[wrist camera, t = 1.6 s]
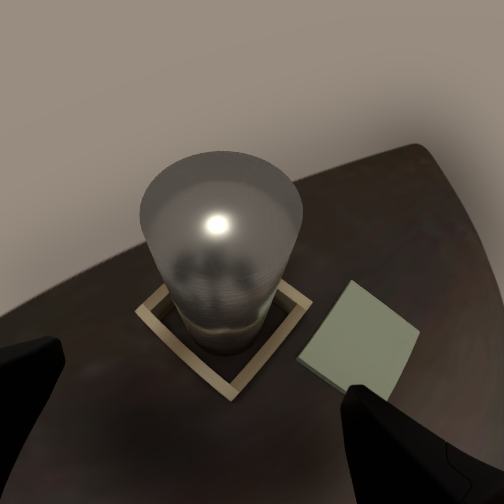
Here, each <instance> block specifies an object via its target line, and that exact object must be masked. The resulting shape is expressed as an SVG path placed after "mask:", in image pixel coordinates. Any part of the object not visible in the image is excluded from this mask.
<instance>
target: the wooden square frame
mask: <svg viewBox="0 0 504 504" xmlns="http://www.w3.org/2000/svg"><path fill="white" fill-rule="evenodd" d="M272 302H273V303H275V304H276V305H277V306H279V307H280V308H281V309H283V310H284V311H285V312H287V313H288V314H289V315H288V316H287V318H286V319H285V320H284V321H283V323H282V324H281V325H280V326H279V328H278V329H277V330H276V331H275V332H274V334H273V335H272V336H271V337H270V338H269V340H268V341H267V342H266V343H265V344H264V346H263V347H262V348H261V349H260V350H259V351H258V353H257V354H256V355H255V356H254V357H253V358H252V360H251V361H250V362H249V363H248V364H247V365H246V366H245V368H244V369H243V370H242V371H241V372H240V373H239V374H238V376H237V377H236V378H235V379H234V380H233V381H232V382H231V383H230V384H229V383H227V382H226V381H225V380H224V379H222V378H221V377H220V376H219V375H218V374H216V373H215V372H214V371H213V370H212V369H211V368H209V367H208V366H207V365H206V364H205V363H204V362H203V361H201V360H200V359H199V358H198V357H197V356H196V355H195V354H194V353H192V352H191V351H190V350H189V349H188V348H187V347H186V346H185V345H184V344H183V343H182V342H181V341H179V340H178V339H177V338H176V337H175V336H174V335H173V334H172V333H171V332H170V331H169V330H168V329H167V328H166V327H165V326H164V325H163V324H162V323H161V322H160V320H161V319H162V318H163V317H164V316H165V315H166V314H167V313H168V312H169V311H170V310H171V309H172V308H173V307H174V306H175V304H174V302H173V300H172V297H171V295H170V293H169V291H168V289H167V287H166V285H165V283H164V284H163V285H162V286H161V287H160V288H159V289H158V290H157V291H155V292H154V293H153V294H152V295H151V296H150V297H149V298H148V299H147V300H146V301H145V302H144V303H143V304H142V305H141V306H140V307H139V308H138V309H137V310H136V311H135V312H136V313H137V314H138V316H139V317H140V318H141V319H142V320H143V321H144V322H145V323H146V324H147V325H148V326H149V327H150V329H151V330H152V331H153V332H154V333H155V334H156V335H157V336H158V337H159V338H160V339H161V340H162V341H163V342H164V343H165V344H166V345H167V346H168V347H169V348H170V349H171V350H172V351H174V352H175V353H176V354H177V355H178V356H179V357H180V358H181V359H182V360H183V361H184V362H185V363H186V364H187V365H188V366H190V367H191V368H192V369H193V370H194V371H195V372H196V373H197V374H198V375H200V376H201V377H202V378H203V379H204V380H205V381H207V382H208V383H209V384H210V385H211V386H212V387H214V388H215V389H216V390H217V391H218V392H220V393H221V394H222V395H223V396H224V397H226V398H227V399H228V400H229V401H232V400H233V399H234V398H235V397H236V396H237V395H238V394H239V392H240V391H241V390H242V389H243V388H244V387H245V386H246V385H247V383H248V382H249V381H250V380H251V379H252V378H253V376H254V375H255V374H256V373H257V372H258V371H259V369H260V368H261V367H262V366H263V365H264V364H265V362H266V361H267V360H268V359H269V358H270V356H271V355H272V354H273V353H274V351H275V350H276V349H277V348H278V347H279V345H280V344H281V343H282V342H283V340H284V339H285V338H286V337H287V335H288V334H289V333H290V332H291V330H292V329H293V328H294V326H295V325H296V324H297V323H298V321H299V320H300V319H301V317H302V316H303V315H304V313H305V312H306V311H307V309H308V308H309V307H310V305H311V304H312V303H313V302H312V301H310V300H309V299H308V298H306V297H305V296H304V295H302V294H301V293H300V292H298V291H297V290H296V289H294V288H293V287H292V286H290V285H289V284H287V283H286V282H285V281H283V280H282V279H281V280H280V283H279V285H278V288H277V290H276V293H275V295H274V298H273V300H272Z"/></svg>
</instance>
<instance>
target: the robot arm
mask: <svg viewBox="0 0 504 504" xmlns="http://www.w3.org/2000/svg"><path fill="white" fill-rule="evenodd" d="M64 366H65V356H64V352H63V348H62V344H61V341H60V340H59V339H58V338H56V337H53V336H50V335H48V336H44V337H41V338H37V339H33V340H30V341H26V342H22V343H18V344H15V345H11V346H7V347H3V348H0V498H1V495H2V493H3V490H4V488H5V484H6V482H7V480H8V478H9V475H10V473H11V471H12V468H13V466H14V464H15V462H16V460H17V458H18V455H19V453H20V451H21V449H22V447H23V445H24V443H25V441H26V439H27V437H28V435H29V434H30V432H31V430H32V428H33V426H34V424H35V422H36V421H37V419H38V417H39V415H40V413H41V412H42V410H43V408H44V406H45V405H46V403H47V401H48V399H49V397H50V395H51V393H52V391H53V389H54V387H55V384H56V382H57V380H58V378H59V376H60V374H61V372H62V370H63V368H64ZM340 412H341V420H342V428H343V436H344V445H345V452H346V457H347V461H348V465H349V470H350V474H351V478H352V483H353V487H354V492H355V497H356V501H357V504H504V471H502V470H500V469H497V468H495V467H493V466H491V465H488V464H486V463H484V462H482V461H480V460H478V459H476V458H474V457H472V456H470V455H468V454H466V453H464V452H463V451H461V450H459V449H458V448H456V447H454V446H453V445H451V444H450V443H448V442H445V440H443V439H442V438H440V437H439V436H437V435H436V434H434V433H433V432H431V431H430V430H428V429H427V428H425V427H424V426H422V425H421V424H419V423H418V422H416V421H415V420H413V419H412V418H410V417H409V416H407V415H406V414H404V413H403V412H401V411H400V410H399V409H397V408H396V407H394V406H393V405H391V404H390V403H389V402H387V401H386V400H384V399H383V398H382V397H380V396H379V395H377V394H376V393H375V392H373V391H372V390H370V389H369V388H368V387H366V386H365V385H363V384H356V385H350V386H349V387H348V389H347V392H346V394H345V396H344V399H343V401H342V403H341V408H340Z"/></svg>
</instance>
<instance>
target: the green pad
mask: <svg viewBox="0 0 504 504" xmlns="http://www.w3.org/2000/svg"><path fill="white" fill-rule="evenodd" d="M419 333H420V332H419V331H418V330H417V329H416V328H414V327H413V326H412V325H410V324H409V323H408V322H407V321H405V320H404V319H403V318H401V317H400V316H399V315H398V314H396V313H395V312H394V311H392V310H391V309H390V308H388V307H387V306H386V305H384V304H383V303H382V302H380V301H379V300H378V299H376V298H375V297H374V296H372V295H371V294H370V293H368V292H367V291H366V290H364V289H363V288H362V287H360V286H359V285H358V284H356V283H355V282H354V281H352V280H351V281H350V282H349V284H348V285H347V286H346V288H345V289H344V291H343V292H342V294H341V295H340V297H339V299H338V300H337V302H336V303H335V305H334V306H333V308H332V309H331V310H330V312H329V313H328V315H327V316H326V318H325V319H324V321H323V322H322V323H321V325H320V326H319V328H318V329H317V331H316V332H315V333H314V335H313V336H312V337H311V339H310V340H309V342H308V343H307V344H306V346H305V347H304V348H303V350H302V351H301V352H300V354H299V355H298V356H297V358H296V359H295V360H297V361H298V362H299V363H301V364H302V365H303V366H305V367H306V368H307V369H309V370H310V371H312V372H313V373H314V374H316V375H317V376H319V377H320V378H321V379H323V380H324V381H326V382H327V383H329V384H330V385H331V386H333V387H334V388H336V389H337V390H339V391H340V392H341V393H343V394H344V395H345V394H346V392H347V389H348V387H349V386H350V385H356V384H363V385H365V386H366V387H368V388H369V389H370V390H372V391H373V392H375V393H376V394H377V395H379V396H380V397H382V398H383V399H384V400H386V401H387V400H388V398H389V396H390V394H391V392H392V391H393V389H394V387H395V385H396V383H397V381H398V379H399V377H400V375H401V373H402V371H403V369H404V367H405V365H406V363H407V361H408V358H409V356H410V354H411V352H412V349H413V347H414V345H415V343H416V340H417V338H418V335H419Z"/></svg>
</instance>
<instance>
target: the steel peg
mask: <svg viewBox="0 0 504 504" xmlns="http://www.w3.org/2000/svg"><path fill="white" fill-rule="evenodd" d="M302 217H303V207H302V202H301V198H300V196H299V193H298V191H297V189H296V187H295V186H294V184H293V183H292V181H291V180H290V179H289V178H288V177H287V176H286V175H285V174H284V173H283V172H282V171H281V170H279V169H278V168H277V167H275V166H274V165H272V164H271V163H268V162H267V161H265V160H263V159H260V158H257V157H255V156H252V155H248V154H244V153H239V152H230V151H215V152H206V153H200V154H196V155H192V156H190V157H187V158H184V159H182V160H180V161H177V162H175V163H174V164H172V165H170V166H169V167H167V168H166V169H165V170H163V171H162V172H161V173H160V174H159V175H158V176H157V177H156V178H155V179H154V180H153V181H152V182H151V183H150V185H149V187H148V188H147V190H146V192H145V194H144V196H143V198H142V202H141V205H140V224H141V228H142V231H143V234H144V236H145V239H146V241H147V244H148V246H149V249H150V251H151V253H152V256H153V258H154V260H155V263H156V265H157V267H158V269H159V272H160V274H161V276H162V278H163V280H164V283H165V285H166V287H167V289H168V291H169V293H170V295H171V297H172V300H173V302H174V304H175V306H176V308H177V310H178V312H179V314H180V316H181V318H182V320H183V322H184V324H185V326H186V328H187V329H188V331H189V333H190V335H191V337H192V339H193V340H194V342H195V343H196V344H197V345H198V346H199V347H200V348H201V349H203V350H204V351H206V352H208V353H210V354H213V355H217V356H232V355H236V354H239V353H241V352H243V351H245V350H246V349H248V348H249V347H250V346H251V345H252V344H253V343H254V342H255V340H256V339H257V337H258V335H259V332H260V330H261V327H262V325H263V323H264V320H265V318H266V315H267V313H268V310H269V308H270V305H271V303H272V300H273V298H274V295H275V293H276V290H277V288H278V285H279V283H280V280H281V278H282V275H283V272H284V270H285V267H286V265H287V262H288V259H289V257H290V254H291V252H292V249H293V246H294V244H295V241H296V238H297V235H298V233H299V230H300V227H301V224H302Z"/></svg>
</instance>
